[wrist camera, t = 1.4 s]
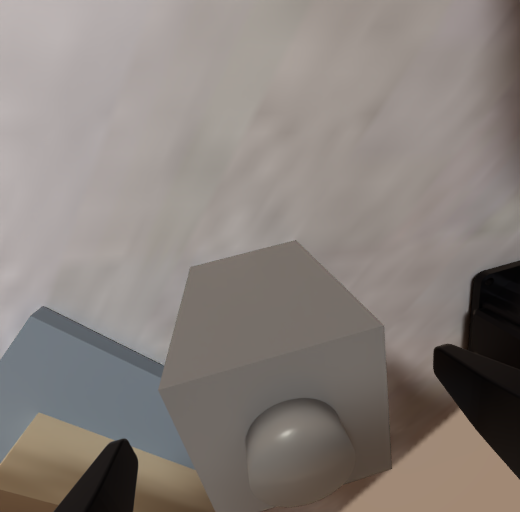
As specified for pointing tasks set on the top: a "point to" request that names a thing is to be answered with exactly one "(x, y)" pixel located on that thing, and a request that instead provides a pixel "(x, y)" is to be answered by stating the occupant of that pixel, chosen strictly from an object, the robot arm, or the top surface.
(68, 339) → the board
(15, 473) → the wooden tray
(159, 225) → the top surface
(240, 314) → the block
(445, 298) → the top surface
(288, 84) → the top surface
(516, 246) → the top surface
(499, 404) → the robot arm
